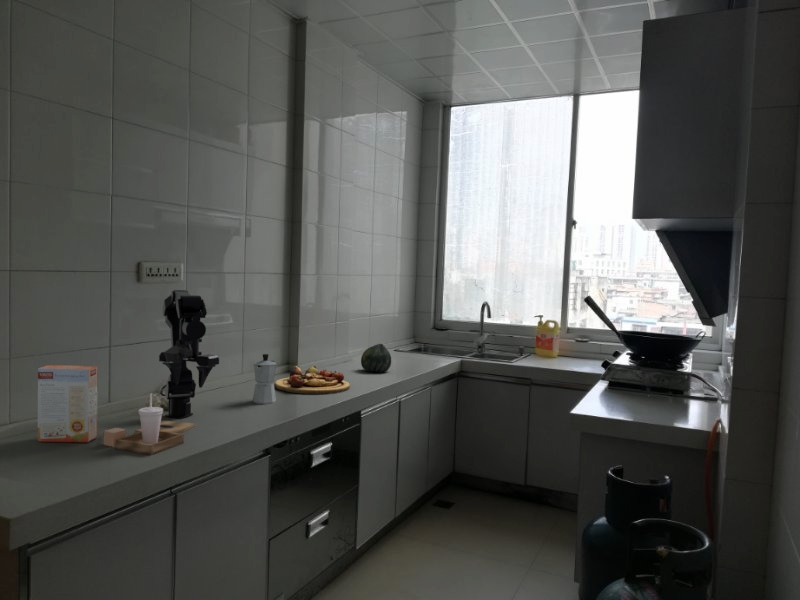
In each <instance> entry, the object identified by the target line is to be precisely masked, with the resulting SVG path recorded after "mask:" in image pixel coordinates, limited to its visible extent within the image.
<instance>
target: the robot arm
mask: <svg viewBox="0 0 800 600" xmlns="http://www.w3.org/2000/svg"><path fill="white" fill-rule="evenodd" d="M207 314H208V312H207V307H206V303H205V301H204V299H203V298H202V296H201V295H194V294H192V295H191V294H190V293H189V291H188V290H185V289H173V290H172V291H171V293H170V295H169V296H167V297H166V298H165V299H164V302H163V306H162V316H163V317H164V323H166V325H167V326H168V327H169V329H170V341H171V345H170V346H171V347H170V348H168V349H167V350H165V351H162V352H160V353H159V355H158V361H159V362H162V365H165V366H166V367H167V368H168V369H169V372H170V374H169V376H168V378H167V379H168V380H166V385H165V388H164V389H165V390H164V397H165V399H167V401H168V413H167V414H164V416H165V417H166V418H167V417H168V418H175V419H182V418H187V417H190V416H192V415H194V412H192V411H191V410H192V407H191V406H192V402H191V398H192V399H194V398H195V396H196V395H195V393H196V387H197V383H196V381H195V379H193V371H192V370H191V369H189V367H187V362H190V363H191V362H193V363H196V364H197V366H195V368H196V369H197V371H198V388H200V389H201V388H203V386H204V384H205V382H206V380H207V378H208V376H209V375H210V373H211V371H212V370H213V368H215V367H216V366H217V365H219V364H220V357H219V356H218V354H209V353H208V354H202V351H200V343H202V342H203V340H202V339H203V337H204V336H205V335H206V333H207V327H206V325H205V324H204V322H203V321H201V319H206V316H207Z"/></svg>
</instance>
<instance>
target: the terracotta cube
mask: <svg viewBox="0 0 800 600" xmlns="http://www.w3.org/2000/svg"><path fill="white" fill-rule="evenodd" d="M125 436H127V429H124V428H119V427H113V428H110V429H106V430H103V445H104V446H108V447H111V446H112V448H116V447H115V446H116V439H119V438H122V437H125Z"/></svg>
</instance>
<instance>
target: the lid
mask: <svg viewBox="0 0 800 600" xmlns="http://www.w3.org/2000/svg"><path fill="white" fill-rule="evenodd" d="M194 427H196V423H192V422H181V421H170V420H161V423H160V431H166V432H172V433H178V434H183V433H184V432H186V431H188V430H190V429H193V428H194ZM134 431H135V433H138V432H141V431H142V430H141V427H140V428H137V429H135V430H134ZM135 433H134V434H135Z"/></svg>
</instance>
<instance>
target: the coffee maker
mask: <svg viewBox="0 0 800 600" xmlns="http://www.w3.org/2000/svg"><path fill="white" fill-rule="evenodd" d="M262 359H263V360H259V361H256V362H254V363H253V367H254V368H253V370H254V376H255V382H256V383H255V386H254V390H253V396H252V402H253V404H256V405H258V404H259V405H271V404H270V403H272V404H275V403H276V402H277V399H276V391H275V385H274V383H273V382H275V375H276V369H277V362H275V360H268V359H269V353H263V354H262Z"/></svg>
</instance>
